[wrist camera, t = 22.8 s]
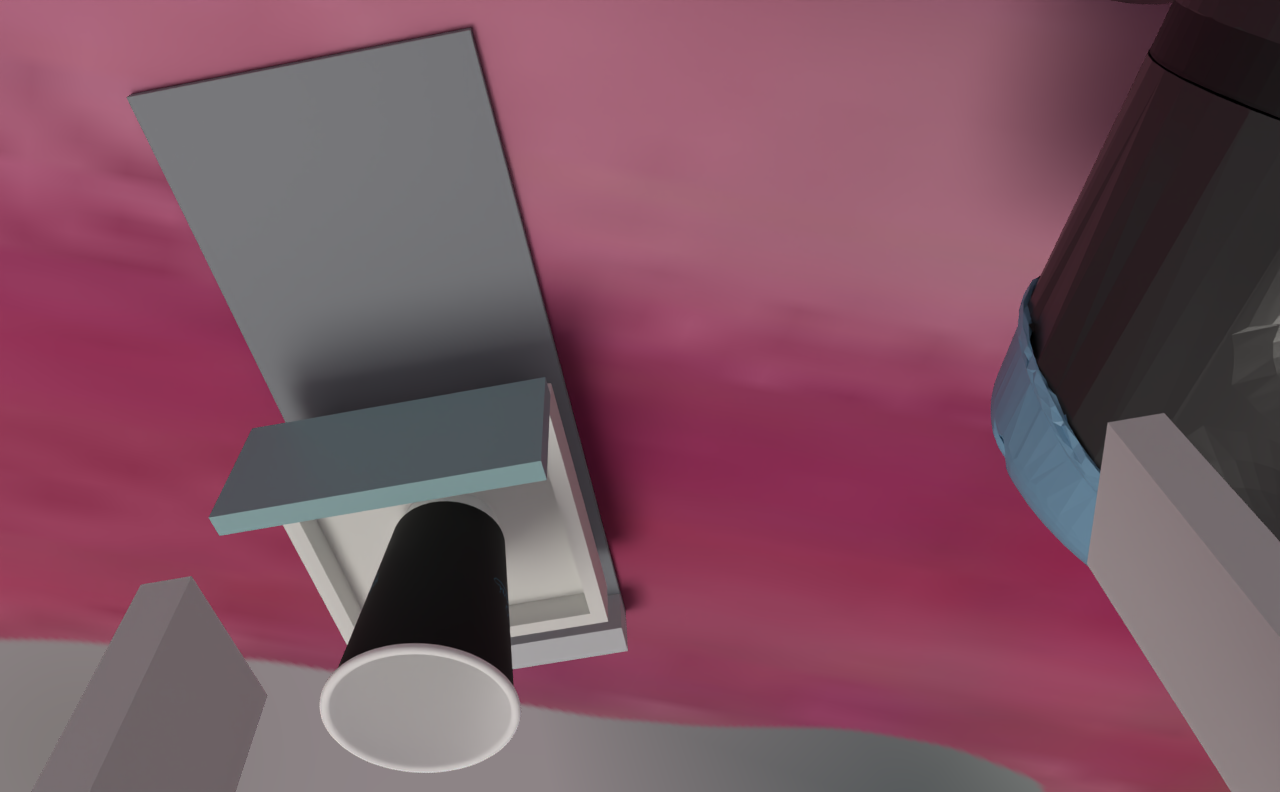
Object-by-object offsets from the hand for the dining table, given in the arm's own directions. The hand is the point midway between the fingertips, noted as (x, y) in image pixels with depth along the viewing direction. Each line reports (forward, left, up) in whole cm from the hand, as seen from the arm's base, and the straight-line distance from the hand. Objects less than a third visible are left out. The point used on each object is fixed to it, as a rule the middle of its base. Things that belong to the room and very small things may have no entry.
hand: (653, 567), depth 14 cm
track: (+12, +15, -29) cm, 35 cm away
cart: (+12, +20, -29) cm, 37 cm away
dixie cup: (+12, +20, -25) cm, 34 cm away
